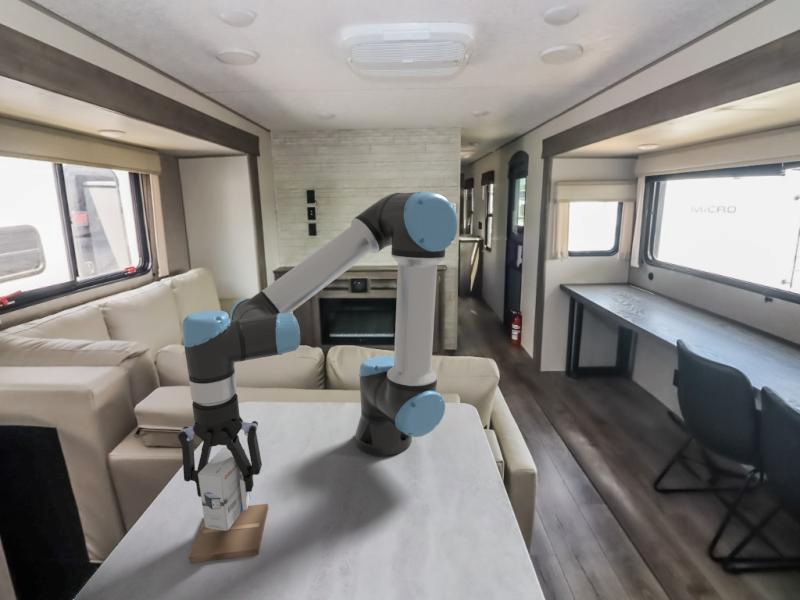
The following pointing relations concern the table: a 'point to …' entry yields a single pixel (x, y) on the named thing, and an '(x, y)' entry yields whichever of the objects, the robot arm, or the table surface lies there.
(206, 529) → the cardboard box
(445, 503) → the table surface
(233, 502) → the ink box
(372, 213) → the robot arm
